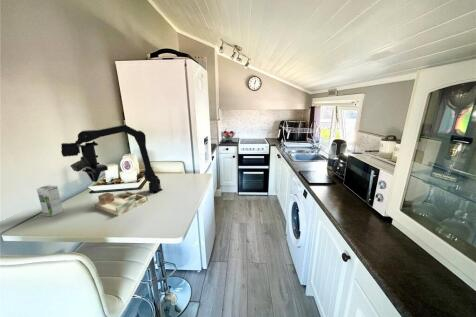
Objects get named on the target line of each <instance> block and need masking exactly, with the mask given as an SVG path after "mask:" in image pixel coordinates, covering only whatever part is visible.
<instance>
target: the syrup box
mask: <svg viewBox="0 0 476 317" xmlns="http://www.w3.org/2000/svg"><path fill="white" fill-rule="evenodd" d="M36 193H37V197H38V199H39V200H38V201H39V204H40V207H41V211H42V214H43V216H46V217H54V216H56V215H59V214H60V213H62V212H64V207H63V204H62V199H61V195H60V192H59V187H58V186H57V185H51V184H48V185H44V186H40V187H38V188H36Z"/></svg>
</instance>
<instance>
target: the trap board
mask: <svg viewBox="0 0 476 317" xmlns="http://www.w3.org/2000/svg"><path fill="white" fill-rule="evenodd" d="M148 198H149V197H148V196H145V195H141V194H139V193H134V192H131V191H126V190H125V191H123V192H120V193H118V194H115V195H114V201H112V202H110V203H108V204H102V203H99V201H98V202H96V203H95V202H94V208H95V209H96V210H99V211H102V212H106V213H107V214H111V215H114V216H117V217H119V216H122V215H123V214H124V213H127V212H129V211H131V210H133V209H135V208H137V207H139V206H141V205H143V204H145V203H146V201H147V202H148V201H149V199H148ZM144 202H145V203H144Z"/></svg>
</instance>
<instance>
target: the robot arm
mask: <svg viewBox="0 0 476 317" xmlns="http://www.w3.org/2000/svg"><path fill="white" fill-rule="evenodd" d="M121 133H126V134H128V135H130V136H132V137H133V138H134V140H135V142H136V143H137V146H138V149H139V152H140V156H141V159H142V162H143V168H144V169H143V170H142V171H141V172H142V173H143V178H144V179H145V180H146V181H147V182H148V192H149V193H152V194H157V193H159V192H162V191H163V188H162V186H161V179H160V178H159V176H158V175H156V173H155V171H154V170H153V167H152V164H151V161H150V157H149V153H148V148H147V139H146V136H147V135H146V134H145V132H143V131H142V130H139V129H138V130H136V129H134V128H133V127H131V126H128V124H122V125H116V126H112V127H105V128H102V129H84V130H81V131H80V132H79V133H77V139H76V140H75V142H62V143H61V145H60V147H61V152H60V153H61V155H62V157H64V158H66V157H73V156H74V157H76V156H79V154H81V155H82V156H80V159H79V160H78V161H76V162H74V163H72V164H70V166H69V167H70V168H71V169H72V170H73V172H77V173H78V172H81V171H82V172H84V173H86V174H87V175H88V177H89V179H90V181H91V182H94V183H97V182H98V180H99V177H100V175H101V174H102V172H105V171H108V170H109V168H108V166H107V165H106V164H100V162H98V159H97V158H98V157H99V155H98V154H96V149H95V147H97V146H98V145H99V143H98V142H96V141H95V140H97V139H99V138H102V137H106V136H111V135H116V134H121ZM83 143H84V144H83Z"/></svg>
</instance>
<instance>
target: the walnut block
mask: <svg viewBox="0 0 476 317" xmlns="http://www.w3.org/2000/svg"><path fill="white" fill-rule="evenodd" d="M114 196H115V195H114V194H113V193H111V192H109V191H108V192H105V193H102V194H99V195H97V197H98V202H99V203H102V204H108V203H110V202H112V201H114Z"/></svg>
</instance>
